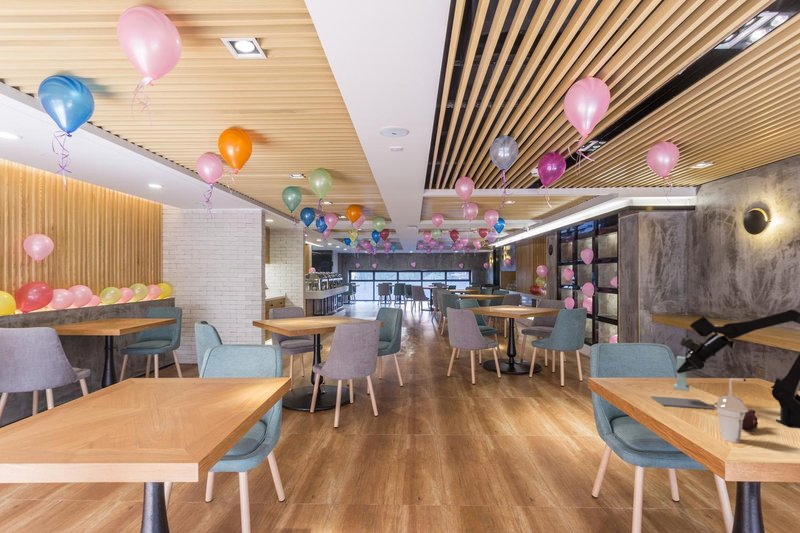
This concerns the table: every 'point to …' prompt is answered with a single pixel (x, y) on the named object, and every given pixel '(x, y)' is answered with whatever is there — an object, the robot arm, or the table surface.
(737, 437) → the cup with straw
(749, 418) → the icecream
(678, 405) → the mat
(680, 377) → the number stand
